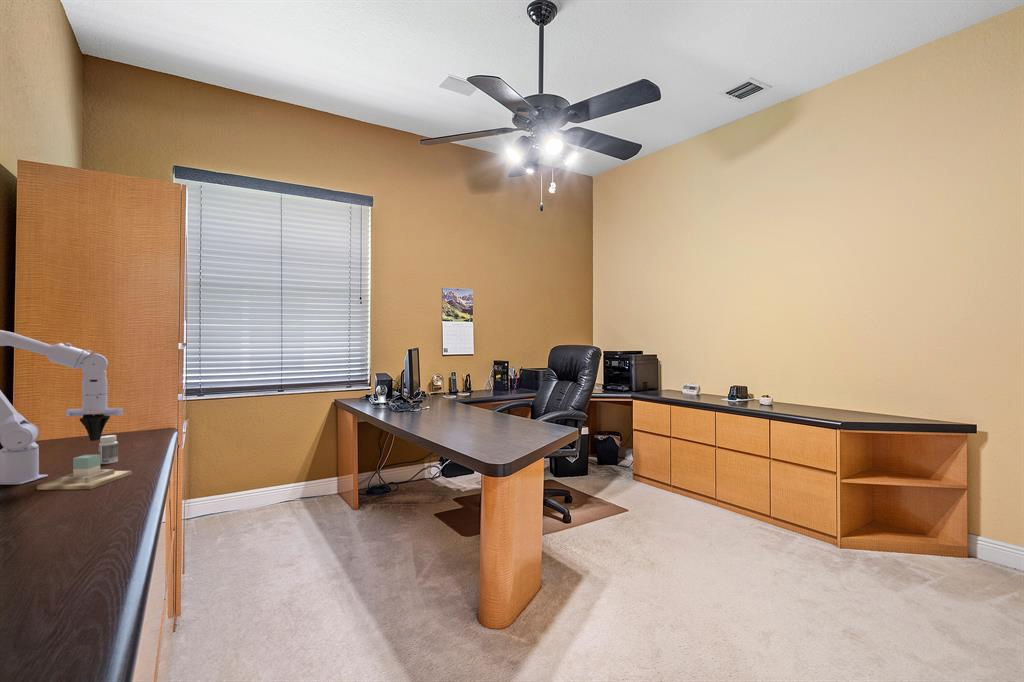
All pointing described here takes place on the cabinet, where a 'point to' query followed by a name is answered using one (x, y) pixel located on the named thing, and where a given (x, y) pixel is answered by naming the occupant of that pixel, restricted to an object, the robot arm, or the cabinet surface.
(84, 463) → the teal and cream block
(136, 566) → the cabinet surface
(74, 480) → the base plate
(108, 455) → the pill bottle
